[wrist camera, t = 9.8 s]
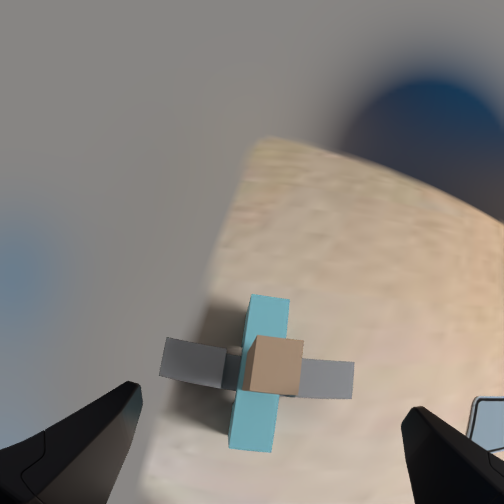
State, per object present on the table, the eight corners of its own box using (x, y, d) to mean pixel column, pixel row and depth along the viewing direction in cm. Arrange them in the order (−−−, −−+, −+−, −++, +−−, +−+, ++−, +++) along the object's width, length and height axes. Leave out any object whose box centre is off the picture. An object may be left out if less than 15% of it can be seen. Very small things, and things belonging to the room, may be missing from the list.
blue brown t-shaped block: (261, 439, 18) (291, 478, 8) (228, 435, 18) (230, 473, 8) (276, 319, 22) (313, 262, 13) (246, 314, 22) (262, 254, 13)
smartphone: (475, 395, 19) (531, 395, 18) (469, 396, 20) (526, 396, 19) (462, 459, 16) (523, 445, 14) (457, 459, 16) (518, 445, 15)
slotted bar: (328, 369, 21) (354, 361, 16) (325, 398, 20) (351, 399, 15) (179, 349, 21) (166, 337, 16) (173, 379, 19) (158, 375, 15)
